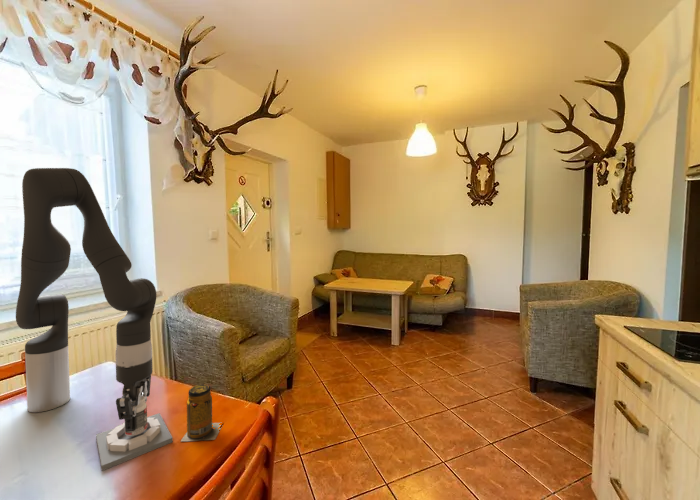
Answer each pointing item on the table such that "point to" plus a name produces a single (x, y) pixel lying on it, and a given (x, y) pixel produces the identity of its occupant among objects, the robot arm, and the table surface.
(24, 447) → the table surface
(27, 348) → the robot arm
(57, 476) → the table surface
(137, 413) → the pill bottle
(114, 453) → the socket board
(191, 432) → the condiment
